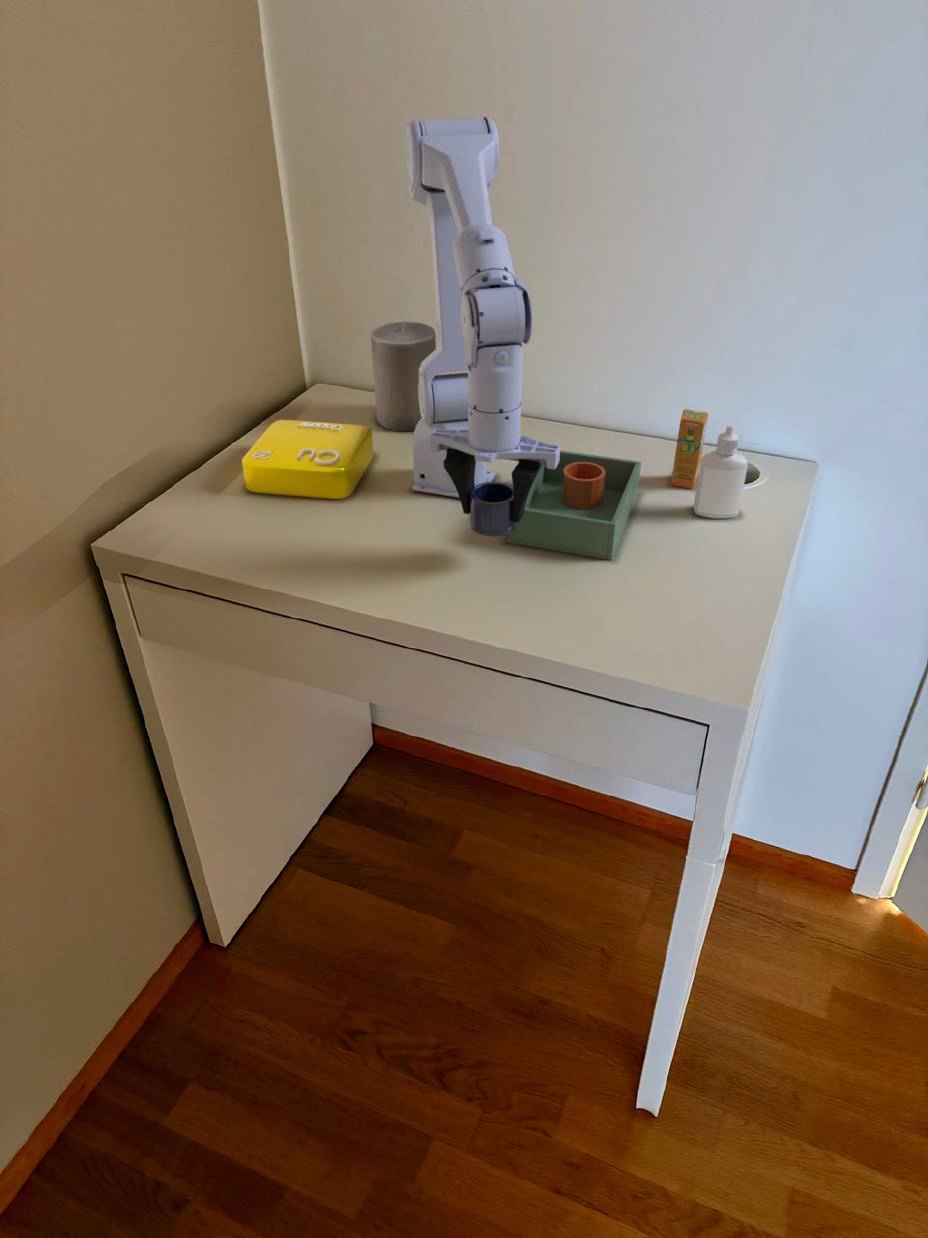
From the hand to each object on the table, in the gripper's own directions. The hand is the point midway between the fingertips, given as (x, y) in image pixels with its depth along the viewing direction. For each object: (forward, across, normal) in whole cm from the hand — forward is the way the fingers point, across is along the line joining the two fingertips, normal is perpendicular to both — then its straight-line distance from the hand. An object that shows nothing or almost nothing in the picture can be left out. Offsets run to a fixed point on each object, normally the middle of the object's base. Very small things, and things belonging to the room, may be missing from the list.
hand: (493, 513), depth 106 cm
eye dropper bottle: (+6, +24, +20) cm, 32 cm away
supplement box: (+6, +19, +27) cm, 34 cm away
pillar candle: (+7, -25, +35) cm, 43 cm away
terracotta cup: (+6, +7, +17) cm, 19 cm away
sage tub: (+6, +7, +13) cm, 16 cm away
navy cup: (+1, 0, 0) cm, 1 cm away
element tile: (+6, -31, +14) cm, 35 cm away
